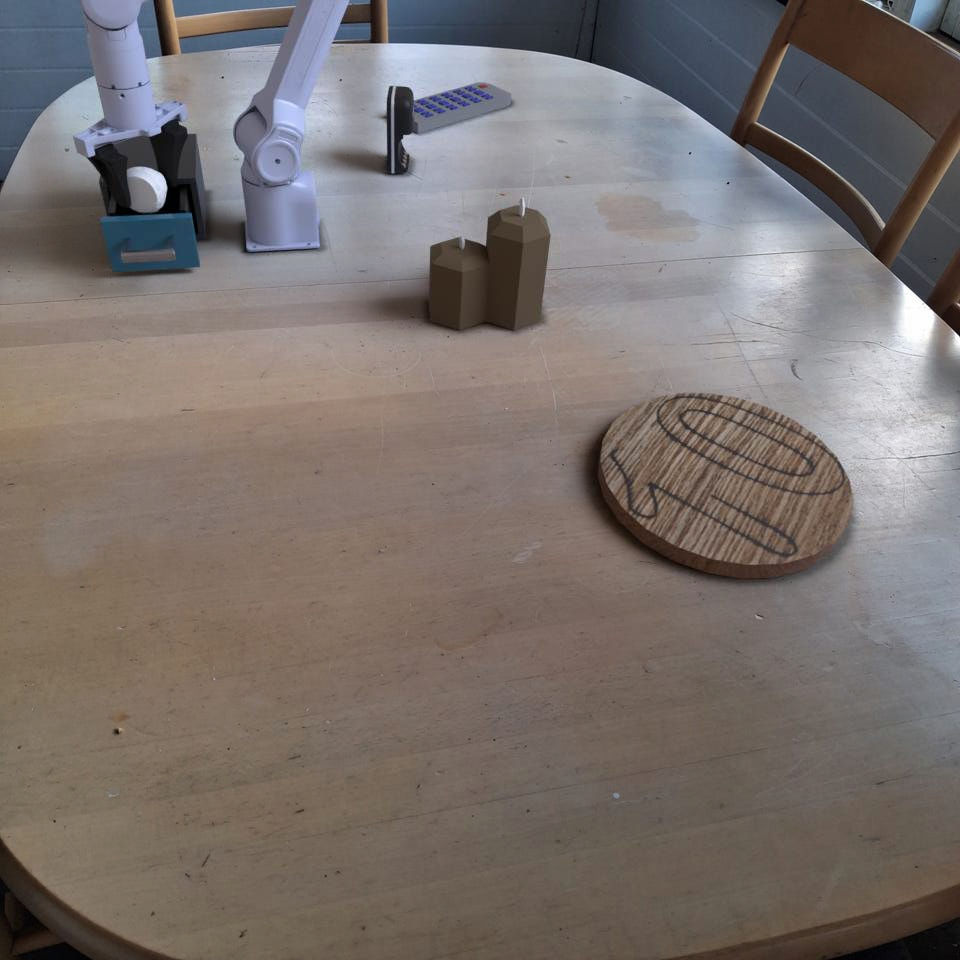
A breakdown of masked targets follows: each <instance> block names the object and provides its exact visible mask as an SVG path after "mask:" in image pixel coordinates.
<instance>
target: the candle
mask: <svg viewBox="0 0 960 960" xmlns="http://www.w3.org/2000/svg"><path fill="white" fill-rule="evenodd" d="M525 202H526V201H525V197H520V199H519V202H518V203H519V204H516V205H513V206H508V207H505V208H502V209H499V210H497V211H495V212H494V213H493V214H491V215H490V216H488V217H487V225H486V226H487V227H486V240H485V245H484V244H483V243H480V242H478V241H474V240H471V239H467V238H465V237H464V236H463V235H460V236H458V237H454V238H451V239H448V240H444V241H441V242H438V243H435V244H432V245H430V246H429V273H428V274H429V275H428V276H429V278H428V309H429V321H430V322H432V323H435V324H438V325H441V326H444V327H447V328H451V329H454V330H457V331H462V330H464V329H468V328H470V327H473V326H476V325H479V324H482V323H484V322H487V323H489V324H493V325H496V326H499V327H503V328H506V329H509V330H512V331H516V330H519V329H522V328H524V327H525V328H526V327H528V326H531V325H532V324H536V323H538V322H541V316H542V307H543V299H544V293H545V291H544V290H545V285H546V278H547V277H546V275H547V268H548V259H549V251H550V245H551V244H550V243H551V237H552V235H551V231H550V228H549V224H548V220H547V218H546V217H545V216H544V215H543V214H542V213H541V212H540V211H539V210H537V209H533V208H530V207H526V203H525Z"/></svg>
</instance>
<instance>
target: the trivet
mask: <svg viewBox="0 0 960 960" xmlns="http://www.w3.org/2000/svg"><path fill="white" fill-rule="evenodd" d="M599 451H600V452H599V459H598V468H597V478H598V482H599V486H600V489H601V493H602V497H603V500H604V501H605V502H606V505H607V506H608V507H609V509H610V510H611V511H612V512H613V515H614V517H615V518H616V520H617V521H618V522H619V523H620V524H621V525H622V526H623V527H624V528H626V530H627V531H629V532H630V533H631V534H632V535H633V536H634V537H635V538H636V539H637V540H638V541H639V542H641V543H642V544H644V545H645V546H647V547H649V548H650V549H652V550H654V551H655V552H657V553H659V554H660V555H662V556H664V557H666V558H667V559H669V560H671V561H672V562H676V563H679V564H682V565H684V566H687V567H690V568H692V569H695V570H698V571H700V572H703V573H706V574H712V575H717V576H718V575H719V576H725V577H729V578H735V579H741V580H742V579H743V580H744V579H771V578H774V579H775V578H780V577H783V576H788V575H790V574H794V573H798V572H802V571H805V570H807V569H809V568H812V567H813V566H814V565H815V564H817V563H818V562H820V561H822V560H823V559H825V558H827V557H828V556H830V554H831V553H832V551H833V550H834V549H835V547H836V546H837V545H838V544H839V542H840V540H841V539H842V538H843V536H844V534H845V532H846V530H847V529H848V526H849V524H850V520H851V516H852V511H853V507H854V502H855V501H854V495H853V490H852V485H851V479H850V477H849V475H848V474H847V472H846V470H845V468H844V467H843V465H842V463H841V462H840V459H839V458H838V457H837V455H836V454H835V453H834V452H833V451H832V450H831V449H830V448H829V447H828V446H827V444H825V442H823V440H822V439H821V438H820V437H819V436H818V435H816V434H815V433H813V432H812V431H811V430H809V429H808V428H806V427H805V426H803V425H802V424H801V423H799V422H798V421H797V420H795V419H793V418H791V417H790V416H789V417H788V416H786V415H784V414H782V413H781V412H778V411H776V410H774V409H773V408H770V407H768V406H766V405H764V404H759V403H756V402H753V401H749V400H746V399H743V398H740V397H737V396H729V395H723V394H716V393H709V392H681V393H680V392H678V393H672V394H667V395H662V396H657V397H653V398H649V399H648V400H645V401H642V402H641V403H638V404H636V405H634V406H631V407H629V408H628V409H627V410H626V411H624V412H623V413H622V414H621V415H620V416H618V417H617V418H616V419H614V421H612V423H611V424H610V427H609V428H608V431H607V432H606V434H605V435H604V437H603V439H602V442H601V446H600V450H599Z"/></svg>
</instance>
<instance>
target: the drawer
mask: <svg viewBox="0 0 960 960" xmlns="http://www.w3.org/2000/svg"><path fill="white" fill-rule="evenodd" d="M108 214H109V217H107V216H101V217H100V221H99V223H100V226H101V232H102V236H103V238H104V243H105V247H106V250H107V256H108V259H109V263H110V268H111V270H112V273H120V272H121V273H123V272H137V271H138V272H139V271H140V272H141V271H154V270H155V271H157V270H175V269H193V268H201V261H200V254H199V250H198V244H197V243H198V242H197V240H196V236H195V231H194V213H193V206H192V201H191V195H190V189H189V184H177V186H176V187H174V188H173V187H170V186H168V185H167V192H166V198H165V202H164V205H163V206H162V208H160V209H159V210H158V211H157V212H155V213H140V212H137V211H135V210H133V209H131V208H130V207H128V208H125V207H123V206H121V205H119V204H117V203H116V202H115V200H114V198H113V196H112V194H111V199H110V205H109V212H108Z"/></svg>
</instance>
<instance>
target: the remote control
mask: <svg viewBox="0 0 960 960" xmlns="http://www.w3.org/2000/svg"><path fill="white" fill-rule="evenodd" d="M511 103H512V93H511V92H508V91H507V90H505V89H503V88H501V87H499V86H496V85H494V84H491V83H487V82H485V81H484V82H483V81H482V82H480V81H479V82H475V83H471V84H468V85H464V86H461V87H456V88H453V89H450V90H446V91H442V92H439V93H435V94H431V95H428V96H424V97H420V98H416V99H414V124H413V131H412V132H414V133H415V134H419V135H420V134H423V133H425V132H428V131H432V130H435V129H438V128H441V127H445V126H448V125H451V124H454V123H457V122H461V121H464V120H468V119H472V118H475V117H478V116H481V115H484V114H487V113H490V112H494V111H498V110H501V109H504V108H507V107H509V106H510V105H511Z"/></svg>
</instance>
